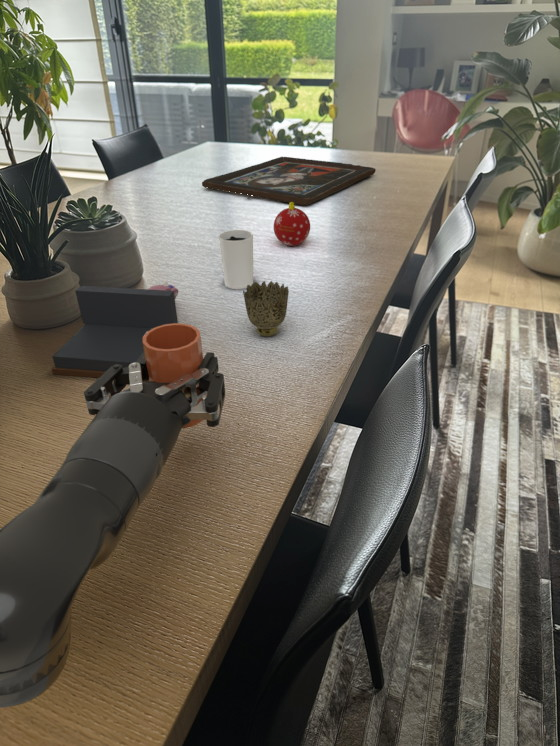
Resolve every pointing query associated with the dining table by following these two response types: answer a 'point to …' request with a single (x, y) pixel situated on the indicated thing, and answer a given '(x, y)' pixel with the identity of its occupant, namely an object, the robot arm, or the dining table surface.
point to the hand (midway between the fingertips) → (183, 357)
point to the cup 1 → (173, 354)
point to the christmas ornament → (291, 226)
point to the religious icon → (290, 179)
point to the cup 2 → (266, 306)
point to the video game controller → (165, 288)
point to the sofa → (112, 328)
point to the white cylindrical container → (237, 258)
